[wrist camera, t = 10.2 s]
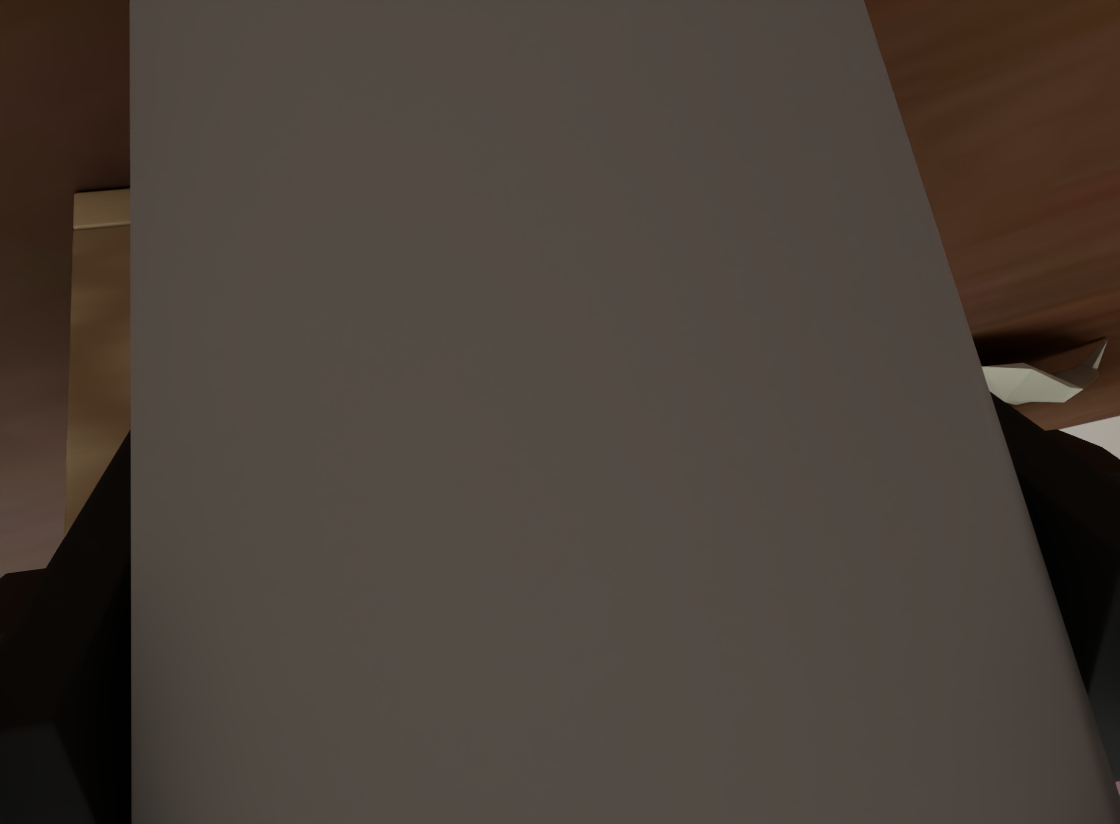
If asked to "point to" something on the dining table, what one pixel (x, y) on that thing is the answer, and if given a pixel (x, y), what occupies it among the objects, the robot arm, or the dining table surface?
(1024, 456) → the robot arm
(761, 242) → the cup
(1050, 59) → the dining table surface
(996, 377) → the flower
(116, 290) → the bin
